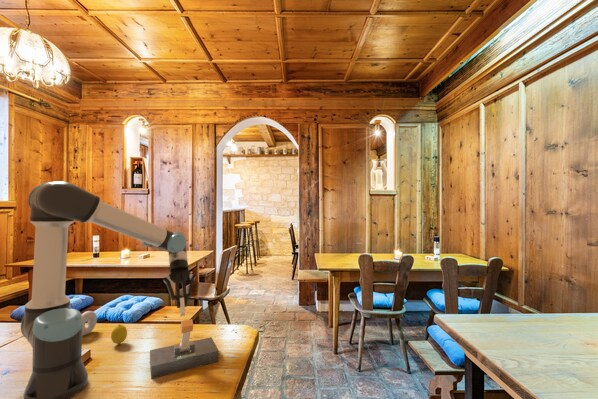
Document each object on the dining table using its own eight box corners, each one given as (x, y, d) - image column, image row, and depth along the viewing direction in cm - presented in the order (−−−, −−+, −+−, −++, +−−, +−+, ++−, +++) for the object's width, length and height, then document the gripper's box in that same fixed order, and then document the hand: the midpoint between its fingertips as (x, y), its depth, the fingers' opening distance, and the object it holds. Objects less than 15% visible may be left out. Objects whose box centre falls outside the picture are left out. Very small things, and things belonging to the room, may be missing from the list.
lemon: (130, 341, 121) (130, 322, 121) (120, 348, 116) (120, 327, 116) (117, 340, 122) (117, 321, 122) (107, 347, 116) (107, 327, 116)
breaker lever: (179, 352, 105) (182, 327, 99) (178, 346, 107) (181, 320, 101) (189, 350, 107) (193, 325, 101) (188, 344, 109) (192, 318, 103)
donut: (80, 340, 122) (80, 316, 122) (72, 339, 122) (73, 315, 122) (98, 329, 132) (99, 307, 132) (91, 329, 132) (92, 307, 132)
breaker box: (151, 378, 96) (151, 360, 96) (149, 361, 106) (150, 344, 106) (218, 361, 107) (218, 345, 107) (211, 347, 117) (211, 332, 117)
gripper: (193, 266, 133) (199, 316, 119) (162, 269, 127) (164, 322, 113) (195, 257, 129) (201, 307, 114) (162, 259, 123) (165, 313, 108)
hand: (182, 314), depth 113 cm, fingers closed
